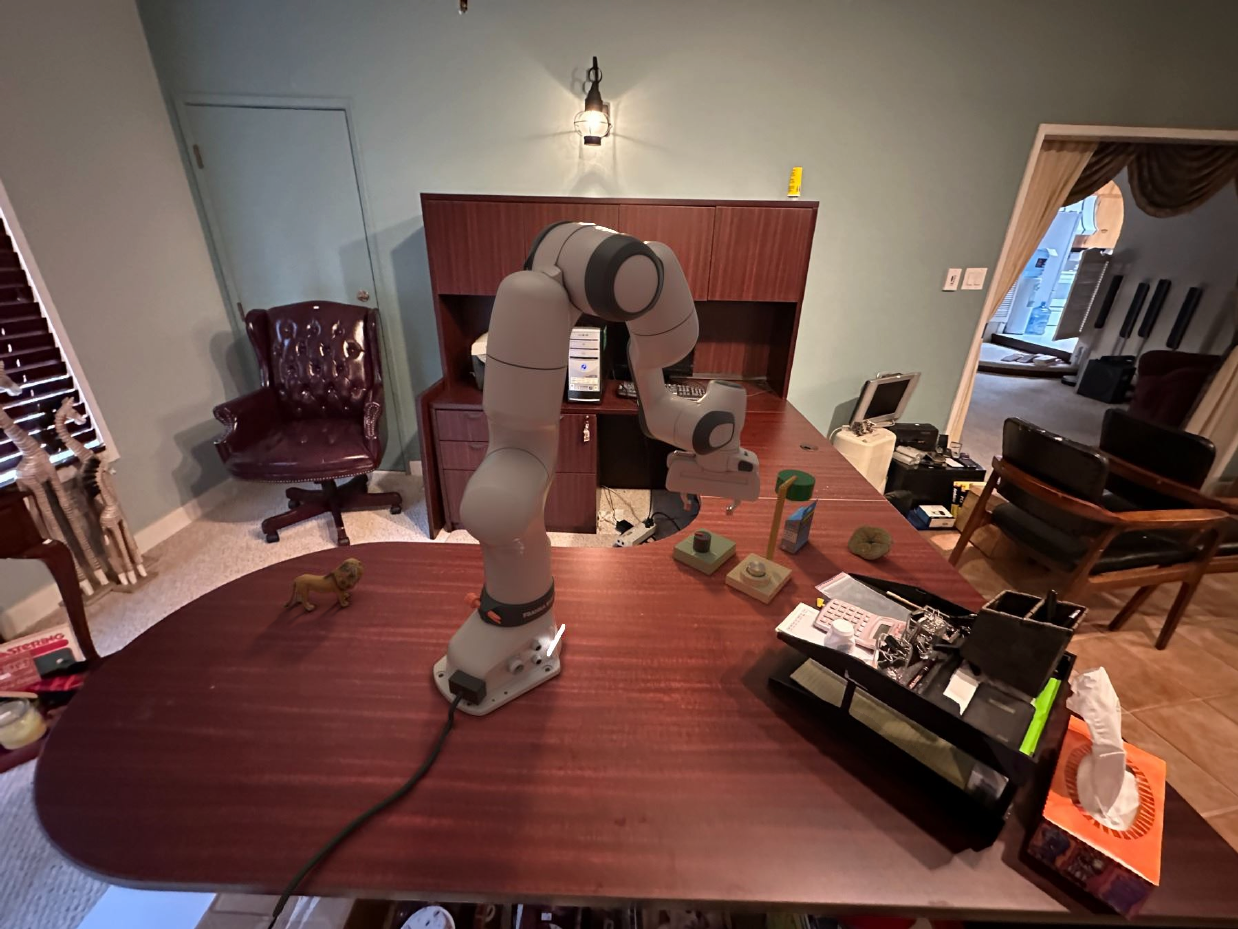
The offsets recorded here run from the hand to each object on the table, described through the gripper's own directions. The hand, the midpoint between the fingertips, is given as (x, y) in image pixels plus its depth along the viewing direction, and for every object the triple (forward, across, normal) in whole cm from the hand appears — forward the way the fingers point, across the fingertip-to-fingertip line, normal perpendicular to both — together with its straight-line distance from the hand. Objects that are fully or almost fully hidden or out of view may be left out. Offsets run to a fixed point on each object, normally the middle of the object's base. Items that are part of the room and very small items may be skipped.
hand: (707, 511), depth 111 cm
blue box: (+13, +23, +12) cm, 29 cm away
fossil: (+13, +41, +12) cm, 44 cm away
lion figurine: (+15, -73, -31) cm, 80 cm away
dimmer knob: (+10, 0, 0) cm, 10 cm away
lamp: (+9, +18, +3) cm, 20 cm away
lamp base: (+13, +13, -5) cm, 19 cm away
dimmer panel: (+13, +1, +2) cm, 13 cm away
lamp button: (+9, +12, -7) cm, 17 cm away
